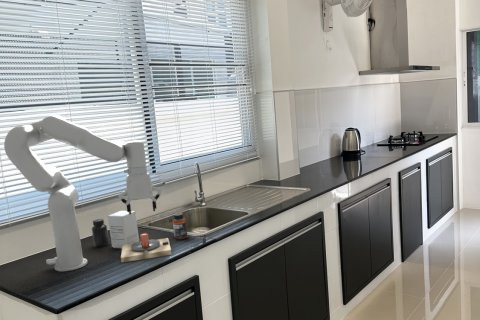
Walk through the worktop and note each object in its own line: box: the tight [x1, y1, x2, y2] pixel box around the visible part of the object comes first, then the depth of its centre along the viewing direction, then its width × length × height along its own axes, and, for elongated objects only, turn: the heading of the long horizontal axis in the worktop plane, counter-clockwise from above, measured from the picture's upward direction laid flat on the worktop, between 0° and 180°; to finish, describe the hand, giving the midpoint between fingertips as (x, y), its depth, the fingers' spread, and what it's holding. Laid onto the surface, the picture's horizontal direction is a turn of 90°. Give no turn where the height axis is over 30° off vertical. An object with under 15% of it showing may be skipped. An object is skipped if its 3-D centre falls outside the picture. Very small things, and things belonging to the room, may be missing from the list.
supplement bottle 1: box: [91, 218, 110, 248], centre depth 205 cm, size 7×7×12 cm
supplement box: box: [107, 210, 140, 249], centre depth 202 cm, size 9×9×15 cm
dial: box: [131, 232, 160, 251], centre depth 189 cm, size 13×12×7 cm
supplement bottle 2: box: [172, 212, 188, 240], centre depth 205 cm, size 6×6×11 cm
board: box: [120, 237, 172, 263], centre depth 190 cm, size 20×18×3 cm
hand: (142, 212), depth 183 cm, fingers open, 9 cm apart
